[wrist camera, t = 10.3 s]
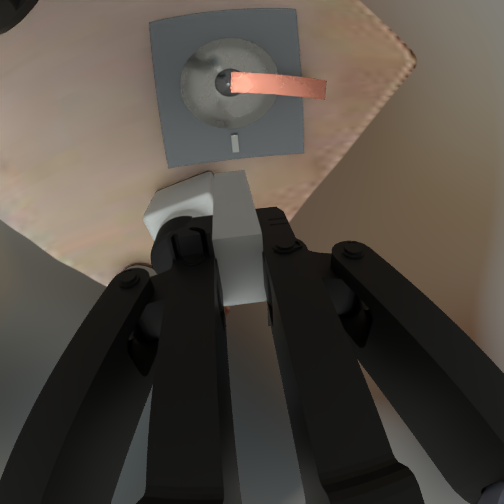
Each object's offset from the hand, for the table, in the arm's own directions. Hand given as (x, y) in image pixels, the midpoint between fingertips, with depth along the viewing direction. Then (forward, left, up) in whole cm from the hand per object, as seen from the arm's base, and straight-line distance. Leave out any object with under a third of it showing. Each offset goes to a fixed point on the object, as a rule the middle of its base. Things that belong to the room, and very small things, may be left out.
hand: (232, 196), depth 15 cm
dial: (-6, +3, -19) cm, 20 cm away
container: (+9, -5, -21) cm, 23 cm away
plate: (-6, +1, -20) cm, 21 cm away
